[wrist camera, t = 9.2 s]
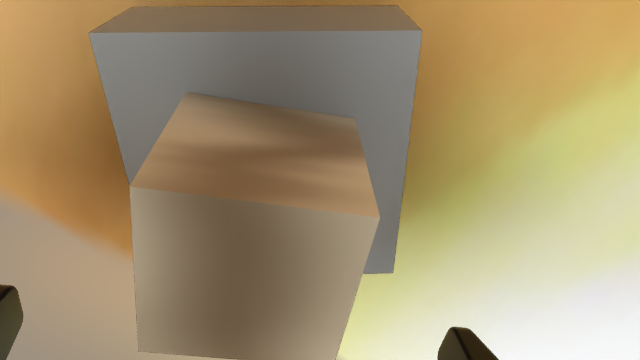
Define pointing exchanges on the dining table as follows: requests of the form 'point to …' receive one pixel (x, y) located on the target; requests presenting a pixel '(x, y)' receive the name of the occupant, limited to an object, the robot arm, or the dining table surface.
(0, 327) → the robot arm
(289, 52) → the slate block
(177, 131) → the birch cube
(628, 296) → the dining table surface
